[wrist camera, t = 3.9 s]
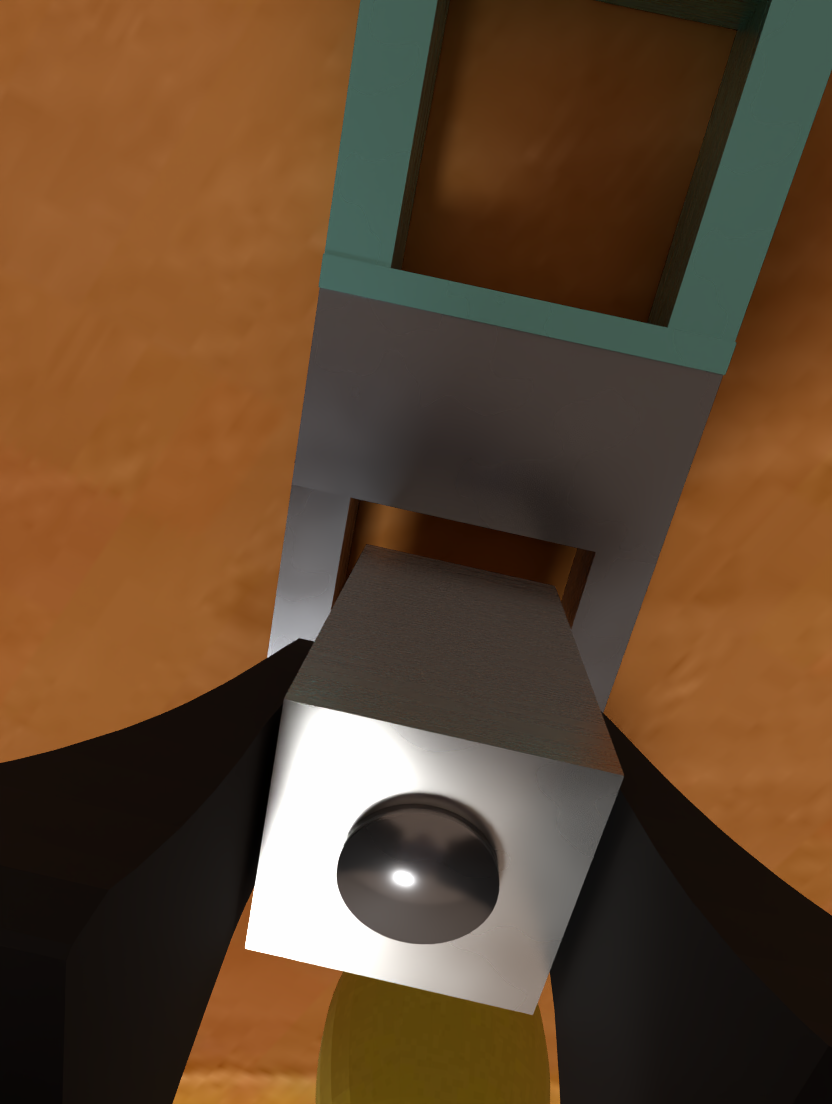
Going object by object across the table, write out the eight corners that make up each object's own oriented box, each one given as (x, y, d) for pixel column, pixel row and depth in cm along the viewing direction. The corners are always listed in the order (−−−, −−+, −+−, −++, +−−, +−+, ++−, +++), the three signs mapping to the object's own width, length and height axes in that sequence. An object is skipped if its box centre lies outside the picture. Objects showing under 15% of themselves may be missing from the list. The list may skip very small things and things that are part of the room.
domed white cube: (336, 706, 14) (239, 962, 8) (366, 544, 13) (278, 707, 7) (507, 744, 14) (534, 1030, 8) (555, 585, 13) (629, 787, 7)
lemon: (421, 810, 18) (384, 1156, 10) (570, 909, 18) (641, 1304, 11) (317, 920, 19) (217, 1289, 12) (457, 1007, 20) (449, 1410, 12)
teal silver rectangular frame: (270, 736, 17) (249, 775, 16) (412, -205, 11) (402, -302, 9) (548, 800, 17) (557, 846, 15) (859, -114, 11) (928, -196, 9)
